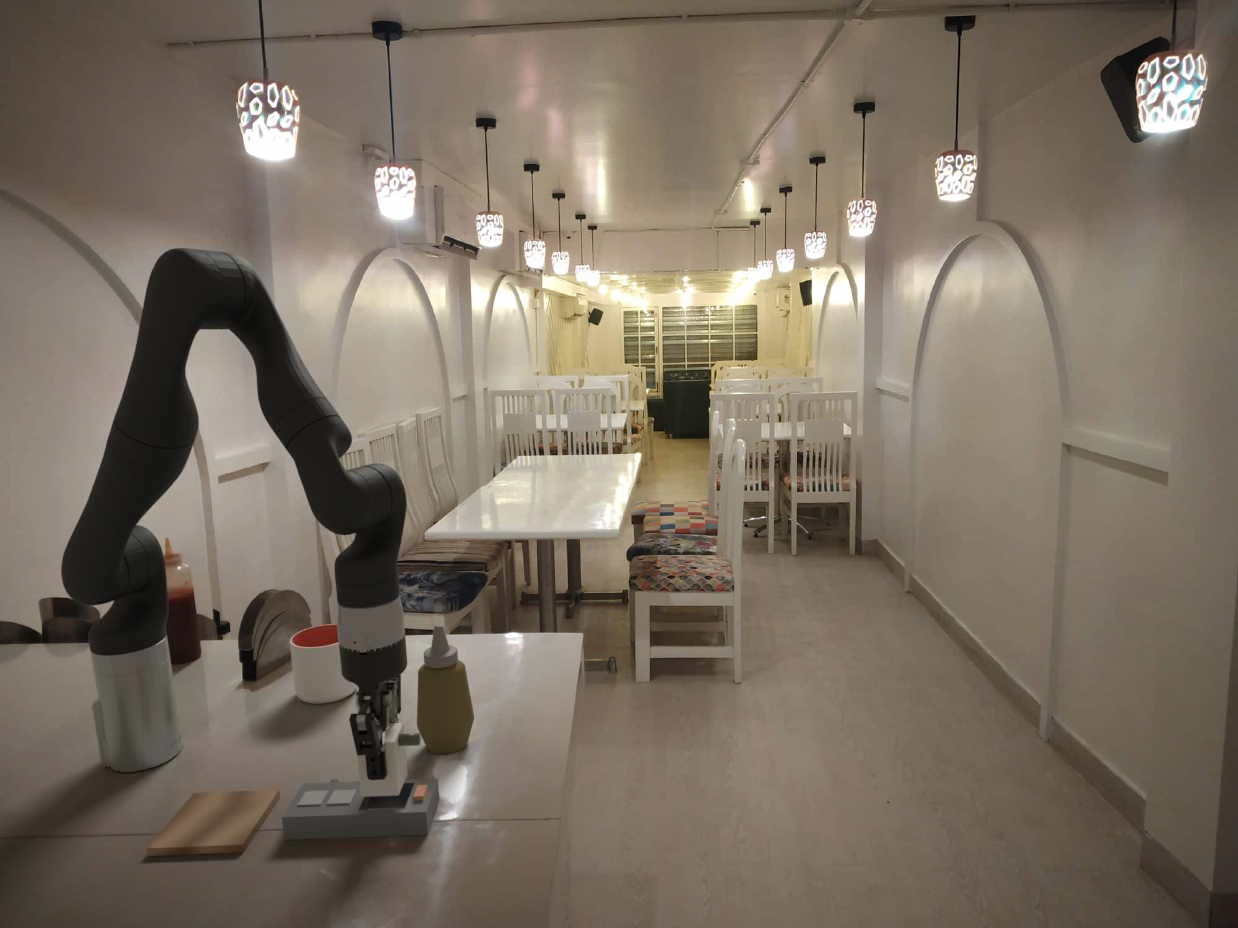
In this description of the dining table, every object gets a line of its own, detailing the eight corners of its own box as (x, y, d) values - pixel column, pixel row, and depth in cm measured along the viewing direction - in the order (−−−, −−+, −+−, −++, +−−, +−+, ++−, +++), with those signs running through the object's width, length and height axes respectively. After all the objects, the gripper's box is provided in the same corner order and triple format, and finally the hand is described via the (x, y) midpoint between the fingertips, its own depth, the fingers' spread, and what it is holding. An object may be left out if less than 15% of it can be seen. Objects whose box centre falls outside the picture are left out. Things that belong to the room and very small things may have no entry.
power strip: (284, 839, 97) (281, 812, 96) (317, 785, 108) (314, 760, 107) (427, 834, 97) (425, 807, 97) (445, 780, 108) (443, 755, 108)
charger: (360, 796, 98) (356, 742, 96) (371, 775, 102) (366, 723, 101) (418, 794, 98) (414, 741, 96) (426, 773, 102) (422, 722, 101)
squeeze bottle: (463, 762, 113) (454, 639, 109) (408, 757, 114) (398, 636, 111) (484, 732, 120) (476, 616, 117) (433, 728, 122) (424, 614, 119)
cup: (299, 712, 128) (293, 652, 126) (292, 687, 137) (286, 631, 135) (365, 697, 133) (359, 639, 131) (354, 674, 141) (348, 619, 139)
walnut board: (148, 855, 95) (147, 848, 95) (194, 799, 106) (193, 792, 105) (243, 852, 95) (242, 844, 95) (280, 796, 106) (279, 789, 106)
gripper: (357, 612, 103) (368, 736, 106) (319, 661, 89) (333, 802, 92) (417, 611, 103) (426, 735, 106) (388, 659, 89) (399, 800, 92)
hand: (383, 765), depth 99 cm, fingers closed on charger, 4 cm apart
